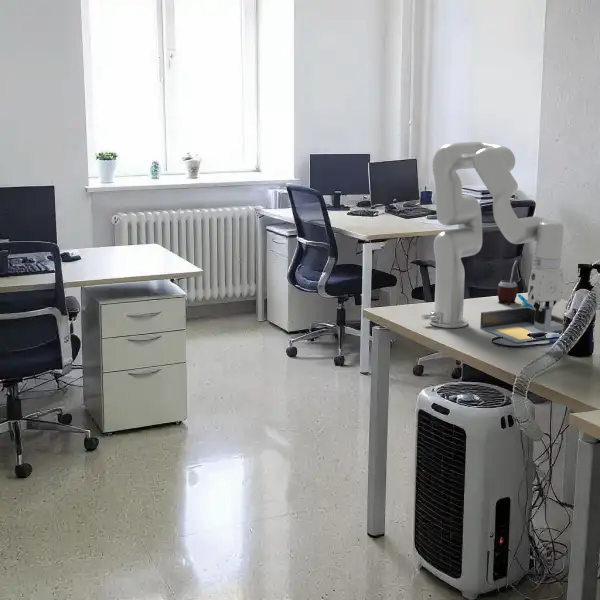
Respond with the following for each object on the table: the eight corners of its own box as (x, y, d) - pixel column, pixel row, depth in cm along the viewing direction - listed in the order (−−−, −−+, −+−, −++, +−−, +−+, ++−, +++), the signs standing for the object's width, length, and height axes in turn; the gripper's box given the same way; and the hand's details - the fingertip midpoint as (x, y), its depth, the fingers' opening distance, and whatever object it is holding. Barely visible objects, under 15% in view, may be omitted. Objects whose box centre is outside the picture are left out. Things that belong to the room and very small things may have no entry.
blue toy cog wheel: (543, 314, 309) (523, 293, 309) (530, 326, 310) (510, 305, 310) (537, 311, 320) (518, 290, 320) (525, 322, 321) (505, 302, 321)
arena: (516, 343, 281) (517, 326, 280) (480, 328, 298) (481, 312, 297) (565, 336, 289) (567, 319, 287) (527, 322, 306) (528, 306, 304)
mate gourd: (499, 305, 329) (501, 264, 325) (494, 300, 337) (496, 260, 333) (520, 305, 329) (522, 264, 326) (514, 299, 337) (516, 260, 333)
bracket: (544, 332, 272) (546, 309, 270) (534, 327, 276) (535, 305, 275) (563, 329, 275) (565, 307, 273) (552, 325, 279) (554, 303, 277)
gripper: (534, 267, 263) (528, 328, 268) (577, 263, 269) (571, 323, 274) (518, 262, 269) (513, 321, 274) (560, 258, 276) (554, 316, 280)
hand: (542, 321), depth 274 cm, fingers closed on bracket
